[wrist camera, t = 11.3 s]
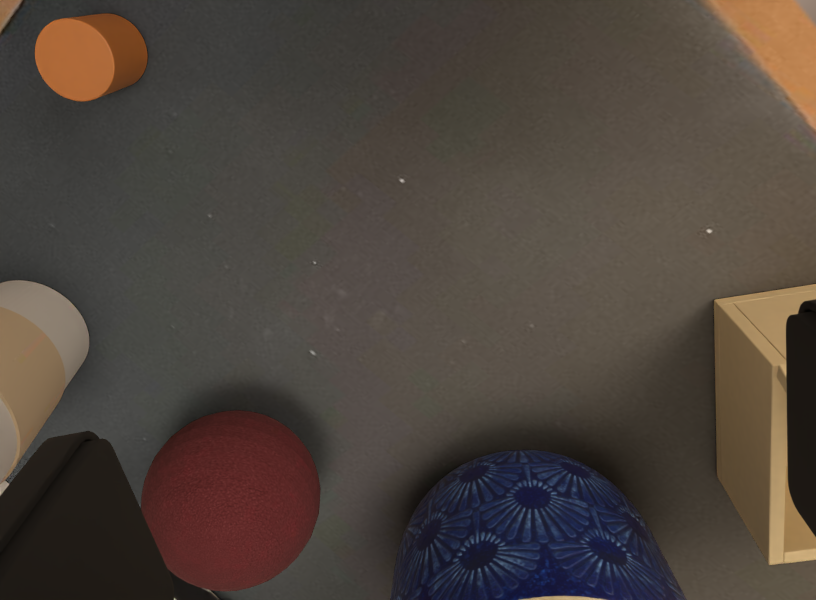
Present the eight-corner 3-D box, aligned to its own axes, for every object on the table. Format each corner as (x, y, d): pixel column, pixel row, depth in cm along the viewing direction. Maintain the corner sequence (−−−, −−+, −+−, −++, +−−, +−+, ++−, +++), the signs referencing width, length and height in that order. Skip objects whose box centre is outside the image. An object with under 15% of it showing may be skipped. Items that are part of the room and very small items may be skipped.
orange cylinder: (135, 7, 36) (99, 11, 32) (156, 81, 38) (125, 94, 34) (66, 20, 37) (22, 25, 33) (90, 93, 38) (51, 107, 34)
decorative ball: (151, 392, 45) (83, 497, 36) (308, 367, 44) (279, 469, 35) (200, 518, 49) (149, 642, 40) (345, 498, 48) (326, 620, 39)
